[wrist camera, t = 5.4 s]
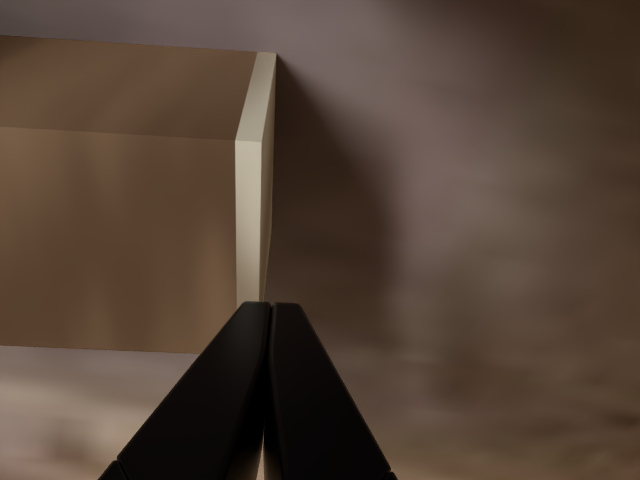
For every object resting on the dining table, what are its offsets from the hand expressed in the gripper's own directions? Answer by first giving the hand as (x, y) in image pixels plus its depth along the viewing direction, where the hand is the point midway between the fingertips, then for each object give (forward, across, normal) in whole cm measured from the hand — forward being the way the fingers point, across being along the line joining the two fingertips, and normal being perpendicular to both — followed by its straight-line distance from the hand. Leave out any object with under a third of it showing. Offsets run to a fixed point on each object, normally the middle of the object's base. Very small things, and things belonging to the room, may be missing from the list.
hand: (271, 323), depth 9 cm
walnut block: (+4, 0, 0) cm, 4 cm away
